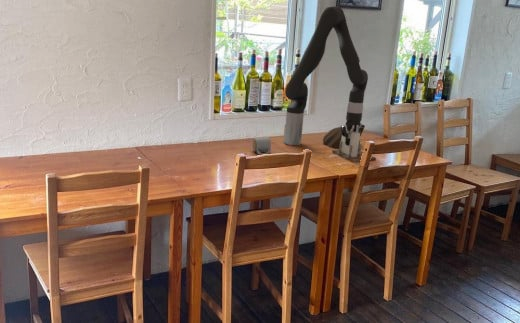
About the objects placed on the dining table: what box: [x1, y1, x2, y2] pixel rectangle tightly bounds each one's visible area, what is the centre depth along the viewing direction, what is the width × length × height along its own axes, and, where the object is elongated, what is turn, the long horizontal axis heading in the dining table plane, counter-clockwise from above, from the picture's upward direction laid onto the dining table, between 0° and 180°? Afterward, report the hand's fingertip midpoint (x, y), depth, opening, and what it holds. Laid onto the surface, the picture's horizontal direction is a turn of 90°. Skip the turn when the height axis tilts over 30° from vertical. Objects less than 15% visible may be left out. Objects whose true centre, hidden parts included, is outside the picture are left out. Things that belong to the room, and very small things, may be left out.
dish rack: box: [331, 139, 377, 164], centre depth 244 cm, size 18×14×7 cm
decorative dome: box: [322, 126, 342, 150], centre depth 265 cm, size 19×20×10 cm
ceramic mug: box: [252, 136, 272, 156], centre depth 240 cm, size 11×8×8 cm
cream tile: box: [341, 131, 361, 157], centre depth 243 cm, size 10×3×12 cm, turn 28°
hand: (350, 144), depth 242 cm, fingers open, 3 cm apart
